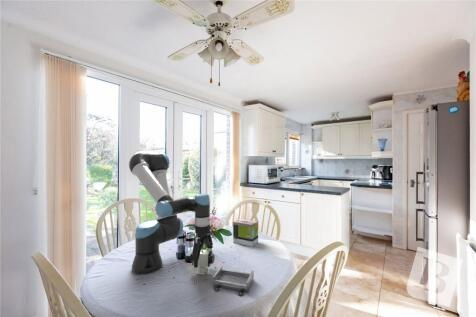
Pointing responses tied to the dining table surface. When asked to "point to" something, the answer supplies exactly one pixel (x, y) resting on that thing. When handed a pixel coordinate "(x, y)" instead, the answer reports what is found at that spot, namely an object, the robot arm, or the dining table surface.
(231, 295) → the dining table surface
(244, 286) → the wheeled cart
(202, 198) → the robot arm
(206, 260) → the pneumatic valve
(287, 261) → the dining table surface
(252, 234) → the tea box
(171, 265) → the dining table surface
